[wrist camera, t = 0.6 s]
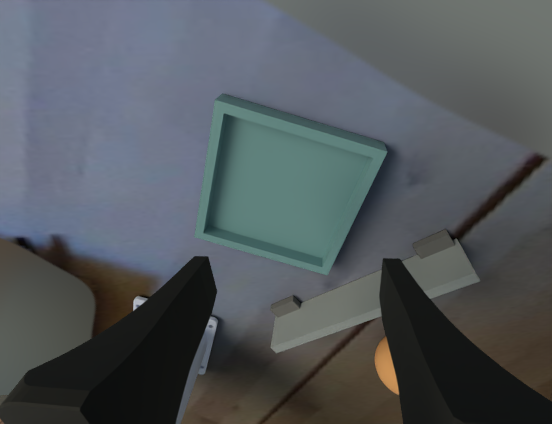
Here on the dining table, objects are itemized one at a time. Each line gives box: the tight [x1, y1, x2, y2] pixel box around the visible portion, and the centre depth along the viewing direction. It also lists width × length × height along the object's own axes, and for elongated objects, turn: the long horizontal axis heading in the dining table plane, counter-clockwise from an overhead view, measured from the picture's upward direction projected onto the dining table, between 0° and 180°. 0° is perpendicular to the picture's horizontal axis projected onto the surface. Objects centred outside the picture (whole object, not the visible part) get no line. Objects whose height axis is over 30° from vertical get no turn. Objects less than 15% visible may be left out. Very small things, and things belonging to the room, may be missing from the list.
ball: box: [375, 336, 399, 395], centre depth 27 cm, size 5×5×5 cm
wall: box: [270, 229, 480, 353], centre depth 25 cm, size 16×3×4 cm, turn 127°
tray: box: [194, 94, 387, 275], centre depth 22 cm, size 10×10×2 cm
